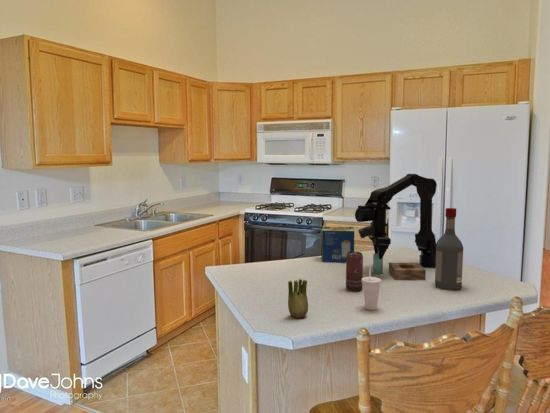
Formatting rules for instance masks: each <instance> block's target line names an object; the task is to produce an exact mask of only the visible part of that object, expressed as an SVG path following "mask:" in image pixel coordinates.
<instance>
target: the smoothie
mask: <svg viewBox="0 0 550 413" xmlns="http://www.w3.org/2000/svg"><path fill="white" fill-rule="evenodd" d="M371 273H372V266H368V276H363V278H362V283H363V288H362V290H363V297H364V298H363V300H364V308H365V309H366V310H373V311H374V310H377V308H378V301H379V294H380V287H381V285H382V279H381V278H379V277H376V276H372V274H371Z"/></svg>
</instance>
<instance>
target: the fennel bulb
mask: <svg viewBox="0 0 550 413" xmlns="http://www.w3.org/2000/svg"><path fill="white" fill-rule="evenodd" d="M307 283H308V280H306V279H302V278H298V280H297V279H296V280H294V281H292V280H288V281H287V286H288V298H287V307H288V313H289V314H290V316H291V317H294V318H297V319H302V318H305V317H306V316H307V315H308V311H309V301H308V300H309V299H308V295H307V285H308V284H307Z"/></svg>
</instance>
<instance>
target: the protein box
mask: <svg viewBox="0 0 550 413" xmlns="http://www.w3.org/2000/svg"><path fill="white" fill-rule="evenodd" d="M354 228H355V227H354V226H322V227H321V262H322V263H335V262H336V263H339V264H340V263H341V264H342V263H344V264H346V255H347V253H348V252H354V251H355V229H354ZM336 263H335V264H336Z"/></svg>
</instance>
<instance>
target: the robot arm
mask: <svg viewBox="0 0 550 413" xmlns="http://www.w3.org/2000/svg"><path fill="white" fill-rule="evenodd" d="M410 186H414V187H415V188H416V189H415V190H416V193H417V195H418V197H419V199H420V200H419V204H420V205H419V215H420V216H419V231H418V232H417V233H415V234H414V237H415V238H414V239H415V240H414V243H415V245H416V247H417V249H418V251H419V252H420V254H419V261H418V264H419V265H420V266H421V267H423V268H435V267H436V243H437V239H436V235H435V233H434V232H433V226H432V225H433V198H434V196H435V194H436V192H437V181H436V180H435V179H434V178H431V177H430V178H428V177H424V176H421V175H419V174H416V173H407V174H405V176H403V177H402V178H400V179H398V180H396V181H394V182H393V183H391V184H390V185H389V184H388V186H385V187H381V188H378V189H375V190H373V191H371V192H370V196H369V197H368V199H367V200H366V202H365V204H364V205H358V206H357V208H356V210H355V212H354V218H355V221H356V222H357V223H364V222H366V223H367V222H370V225H367V226H365V227H362V228H359V229H358V234H359V237H360V239H365V238H366V237H368V238H369V240H370V241H372V245H373V250H374V254H378V255H379V259H382V258H383V259H384V256H385V254H386V252H387V250H388V248H389V246H390V245H391V243H392V240H391V238H390V237H389V236H388V235H387V230H386V229H387V227H388V223H387V211H388V210H392V208H391V207H390V206H389V205H388V203H390V201H391V200H393V197H394V196H396V195H397V194H399V193H400V192H402V191H404V190H406V189H407V188H408V187H410Z"/></svg>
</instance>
